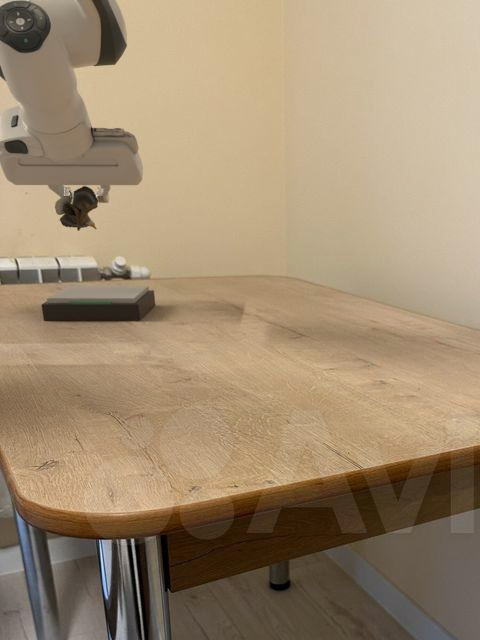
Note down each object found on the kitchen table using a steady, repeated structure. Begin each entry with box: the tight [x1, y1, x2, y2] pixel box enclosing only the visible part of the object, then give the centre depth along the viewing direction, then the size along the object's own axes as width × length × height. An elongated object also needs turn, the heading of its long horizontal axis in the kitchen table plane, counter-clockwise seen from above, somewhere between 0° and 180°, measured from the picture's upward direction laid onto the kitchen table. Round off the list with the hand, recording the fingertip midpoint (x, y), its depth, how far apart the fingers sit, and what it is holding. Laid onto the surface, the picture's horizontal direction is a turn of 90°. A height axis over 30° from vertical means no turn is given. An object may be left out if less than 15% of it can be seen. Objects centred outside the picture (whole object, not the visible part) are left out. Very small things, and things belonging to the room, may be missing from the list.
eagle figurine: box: [54, 185, 99, 232], centre depth 115 cm, size 8×7×9 cm
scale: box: [41, 285, 156, 322], centre depth 111 cm, size 14×14×3 cm
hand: (86, 199), depth 115 cm, fingers closed on eagle figurine, 4 cm apart
